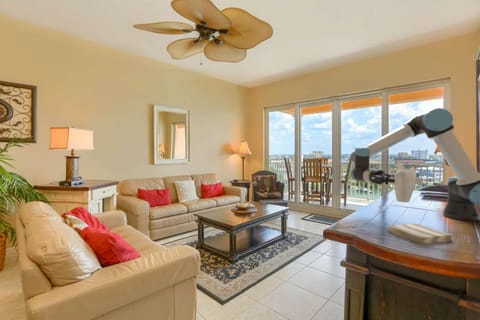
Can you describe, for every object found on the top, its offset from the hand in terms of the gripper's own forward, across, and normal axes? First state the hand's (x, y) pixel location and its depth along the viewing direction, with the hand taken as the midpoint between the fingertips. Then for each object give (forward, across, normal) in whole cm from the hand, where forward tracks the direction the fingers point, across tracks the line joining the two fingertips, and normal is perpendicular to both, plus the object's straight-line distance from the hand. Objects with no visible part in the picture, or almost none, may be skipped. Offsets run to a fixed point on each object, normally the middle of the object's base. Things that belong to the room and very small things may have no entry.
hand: (412, 181), depth 107 cm
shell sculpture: (-4, 0, -10) cm, 11 cm away
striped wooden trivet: (+2, -1, -24) cm, 24 cm away
